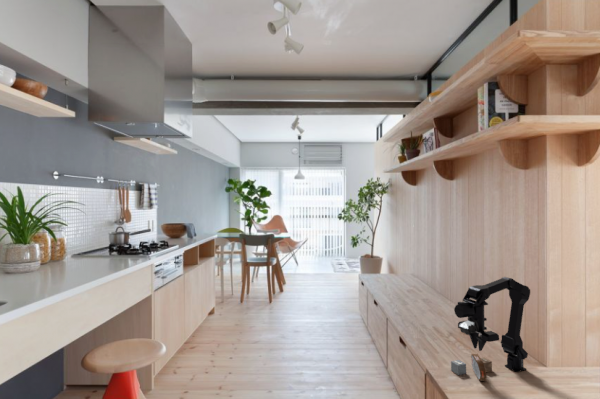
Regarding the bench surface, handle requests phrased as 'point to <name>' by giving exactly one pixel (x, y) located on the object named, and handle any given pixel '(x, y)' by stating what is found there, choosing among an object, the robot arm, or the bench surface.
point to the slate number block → (458, 367)
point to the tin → (478, 367)
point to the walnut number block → (487, 364)
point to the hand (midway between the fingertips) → (477, 349)
